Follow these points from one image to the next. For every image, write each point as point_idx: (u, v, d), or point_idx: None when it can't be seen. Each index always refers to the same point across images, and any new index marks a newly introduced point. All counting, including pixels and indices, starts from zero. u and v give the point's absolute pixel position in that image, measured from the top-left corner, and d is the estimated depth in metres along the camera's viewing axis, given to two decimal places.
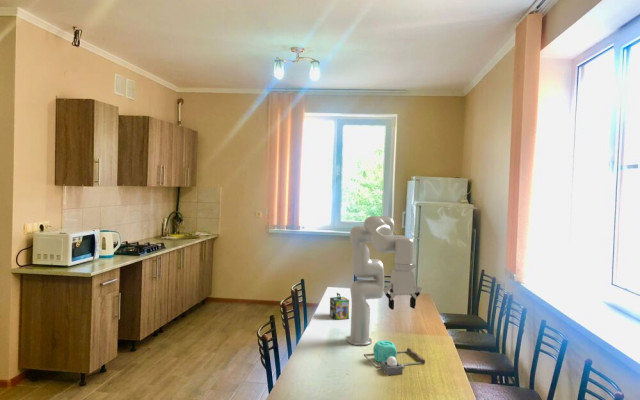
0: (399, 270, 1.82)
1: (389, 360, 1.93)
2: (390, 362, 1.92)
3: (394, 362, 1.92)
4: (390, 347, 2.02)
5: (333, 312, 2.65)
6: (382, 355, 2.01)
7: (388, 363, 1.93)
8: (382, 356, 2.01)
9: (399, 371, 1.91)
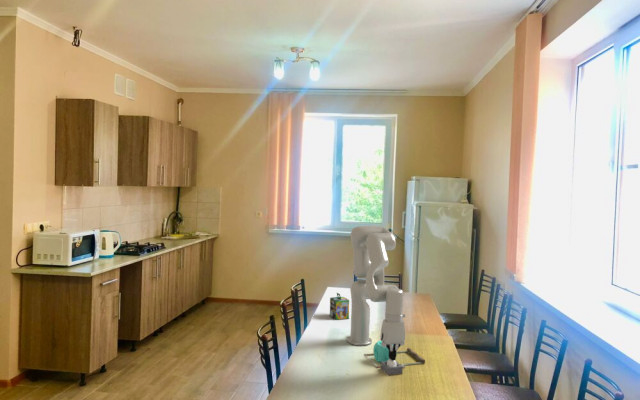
0: (389, 321, 1.90)
1: (389, 362, 1.93)
2: (390, 364, 1.92)
3: (394, 364, 1.92)
4: None
5: (333, 312, 2.65)
6: (382, 355, 2.01)
7: (388, 365, 1.93)
8: (382, 356, 2.01)
9: (399, 371, 1.91)
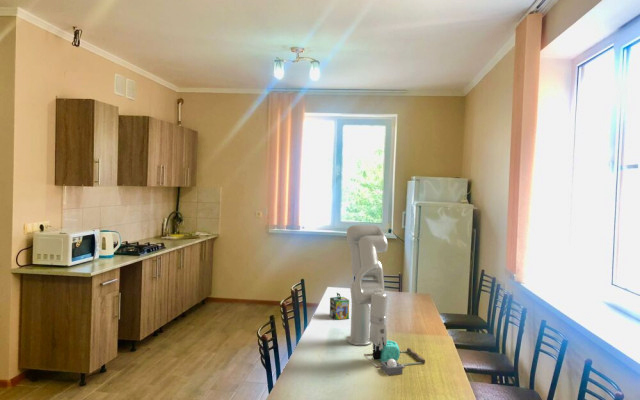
0: None
1: (389, 363, 1.93)
2: (390, 365, 1.92)
3: (394, 365, 1.92)
4: (393, 347, 2.02)
5: (333, 312, 2.65)
6: (385, 355, 2.01)
7: (388, 366, 1.93)
8: (385, 356, 2.01)
9: (399, 371, 1.91)
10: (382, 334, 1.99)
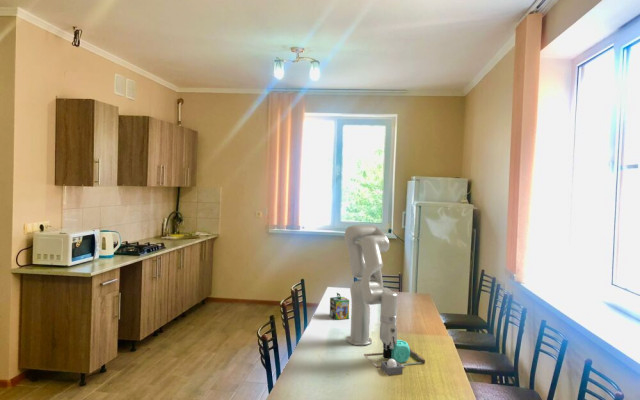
0: None
1: (389, 363, 1.93)
2: (390, 365, 1.92)
3: (394, 365, 1.92)
4: (403, 346, 2.03)
5: (333, 312, 2.65)
6: (395, 354, 2.02)
7: (388, 366, 1.93)
8: (395, 355, 2.02)
9: (399, 371, 1.91)
10: (393, 333, 2.01)
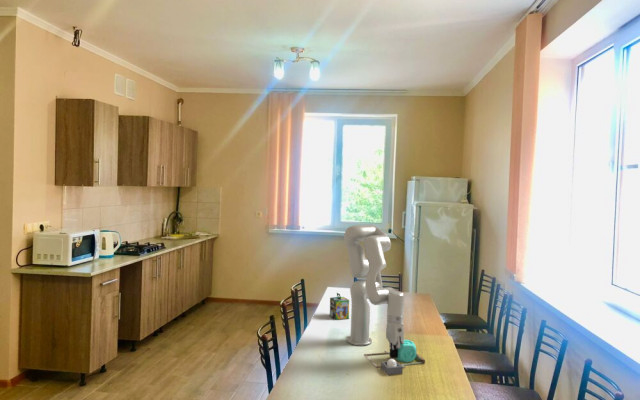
0: None
1: (389, 363, 1.93)
2: (390, 365, 1.92)
3: (394, 365, 1.92)
4: (410, 346, 2.04)
5: (333, 312, 2.65)
6: (402, 353, 2.03)
7: (388, 366, 1.93)
8: (402, 354, 2.03)
9: (399, 371, 1.91)
10: (399, 333, 2.02)
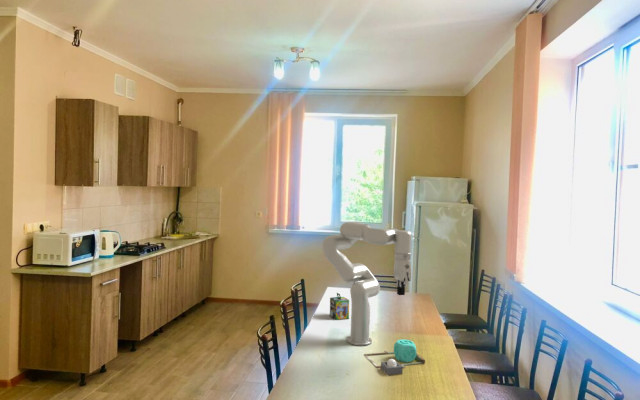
0: None
1: (389, 363, 1.93)
2: (390, 365, 1.92)
3: (394, 365, 1.92)
4: (410, 346, 2.04)
5: (333, 312, 2.65)
6: (402, 353, 2.03)
7: (388, 366, 1.93)
8: (402, 354, 2.03)
9: (399, 371, 1.91)
10: (407, 269, 2.07)
